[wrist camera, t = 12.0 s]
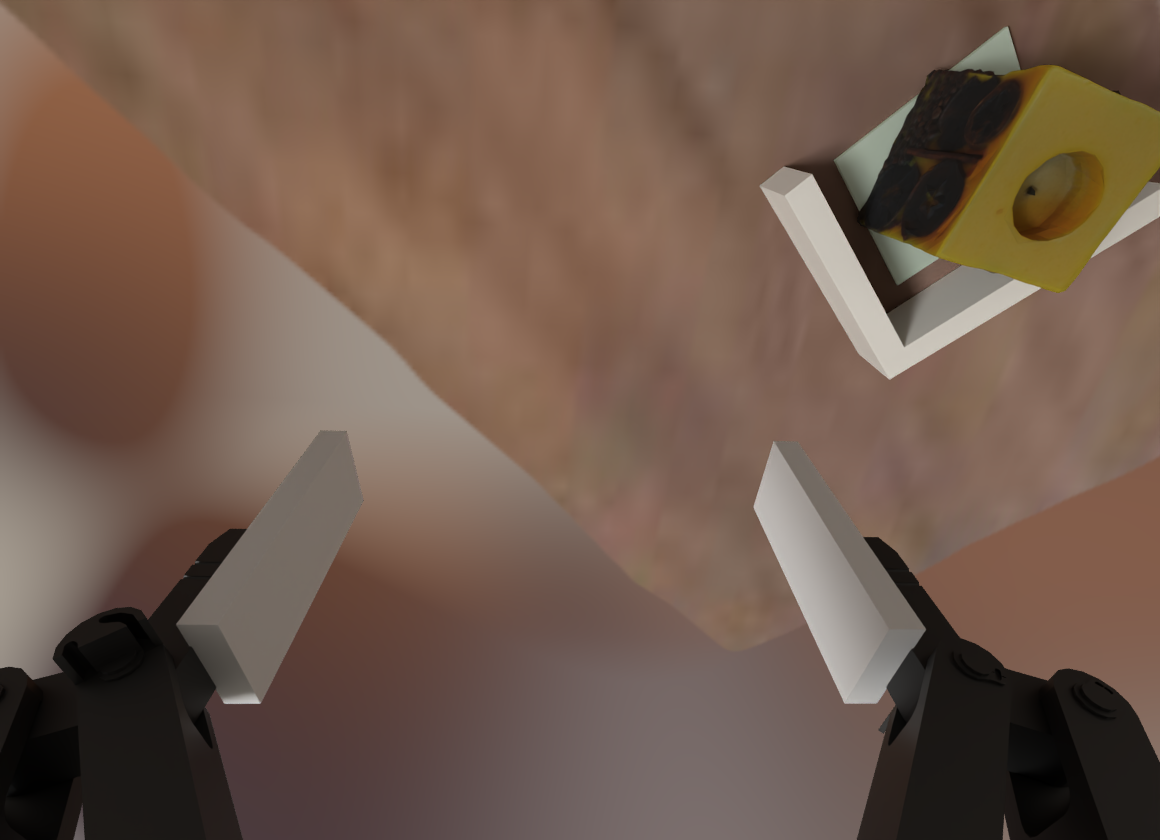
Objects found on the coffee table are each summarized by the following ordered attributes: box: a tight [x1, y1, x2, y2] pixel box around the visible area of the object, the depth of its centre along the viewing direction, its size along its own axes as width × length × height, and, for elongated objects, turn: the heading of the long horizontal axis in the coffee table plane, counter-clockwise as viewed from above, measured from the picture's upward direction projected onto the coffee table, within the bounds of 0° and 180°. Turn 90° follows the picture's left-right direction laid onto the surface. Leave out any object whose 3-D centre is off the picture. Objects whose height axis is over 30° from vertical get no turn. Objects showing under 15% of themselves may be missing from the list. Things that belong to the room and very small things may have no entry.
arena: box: [760, 167, 1160, 379], centre depth 36 cm, size 18×20×5 cm
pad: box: [834, 27, 1021, 285], centre depth 37 cm, size 12×12×1 cm
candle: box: [857, 65, 1160, 293], centre depth 33 cm, size 10×10×10 cm
